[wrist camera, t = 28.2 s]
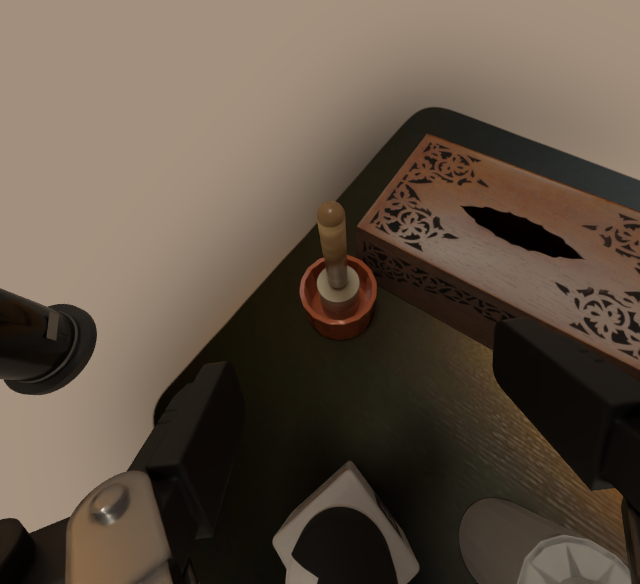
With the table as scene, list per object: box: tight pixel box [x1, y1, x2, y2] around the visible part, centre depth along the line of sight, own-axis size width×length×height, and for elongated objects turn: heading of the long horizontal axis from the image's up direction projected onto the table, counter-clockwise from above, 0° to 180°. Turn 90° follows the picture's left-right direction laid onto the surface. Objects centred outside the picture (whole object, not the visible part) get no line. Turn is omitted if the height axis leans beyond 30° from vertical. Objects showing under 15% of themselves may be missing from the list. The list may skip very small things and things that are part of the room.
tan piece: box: [317, 201, 360, 320], centre depth 29 cm, size 4×4×18 cm
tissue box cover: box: [356, 134, 640, 382], centre depth 33 cm, size 26×14×10 cm, turn 55°
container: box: [273, 461, 419, 584], centre depth 23 cm, size 8×8×13 cm
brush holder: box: [299, 255, 377, 340], centre depth 35 cm, size 8×8×6 cm
